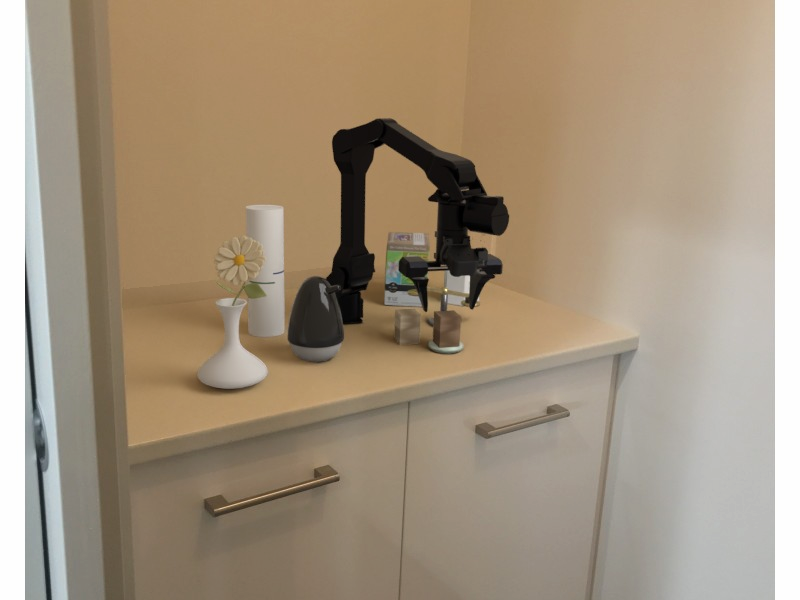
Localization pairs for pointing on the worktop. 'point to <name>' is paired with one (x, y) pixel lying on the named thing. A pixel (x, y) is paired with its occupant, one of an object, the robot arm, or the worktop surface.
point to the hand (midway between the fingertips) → (448, 310)
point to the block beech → (407, 326)
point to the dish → (445, 350)
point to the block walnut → (446, 329)
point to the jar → (456, 287)
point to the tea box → (394, 280)
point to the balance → (444, 298)
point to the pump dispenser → (316, 321)
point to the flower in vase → (235, 317)
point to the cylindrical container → (267, 270)
